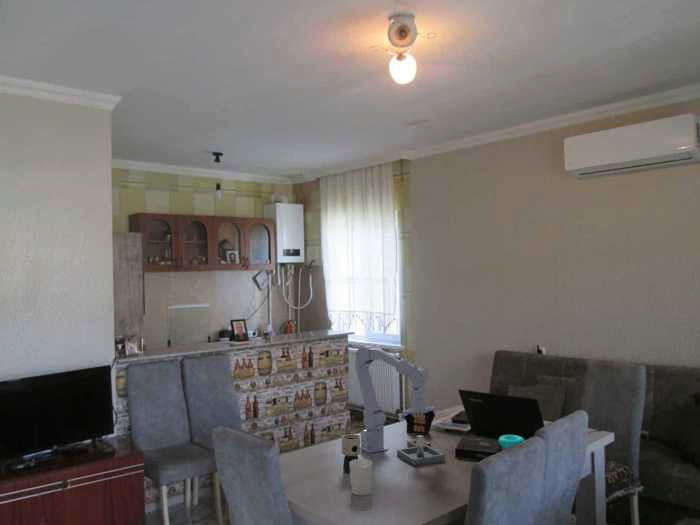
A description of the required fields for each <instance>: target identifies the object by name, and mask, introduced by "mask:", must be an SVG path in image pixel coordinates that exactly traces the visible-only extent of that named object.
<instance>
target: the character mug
mask: <svg viewBox="0 0 700 525" xmlns="http://www.w3.org/2000/svg"><path fill="white" fill-rule="evenodd" d="M360 447H361V435H359V434H344V435H342V436H341V453H342V455H344V457H343V465H342V466H343V467H342V470H343V471H344V472H347V473H350V464H349V463H350V461H352V460H355V459H359V455H360V454H361V448H360Z"/></svg>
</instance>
